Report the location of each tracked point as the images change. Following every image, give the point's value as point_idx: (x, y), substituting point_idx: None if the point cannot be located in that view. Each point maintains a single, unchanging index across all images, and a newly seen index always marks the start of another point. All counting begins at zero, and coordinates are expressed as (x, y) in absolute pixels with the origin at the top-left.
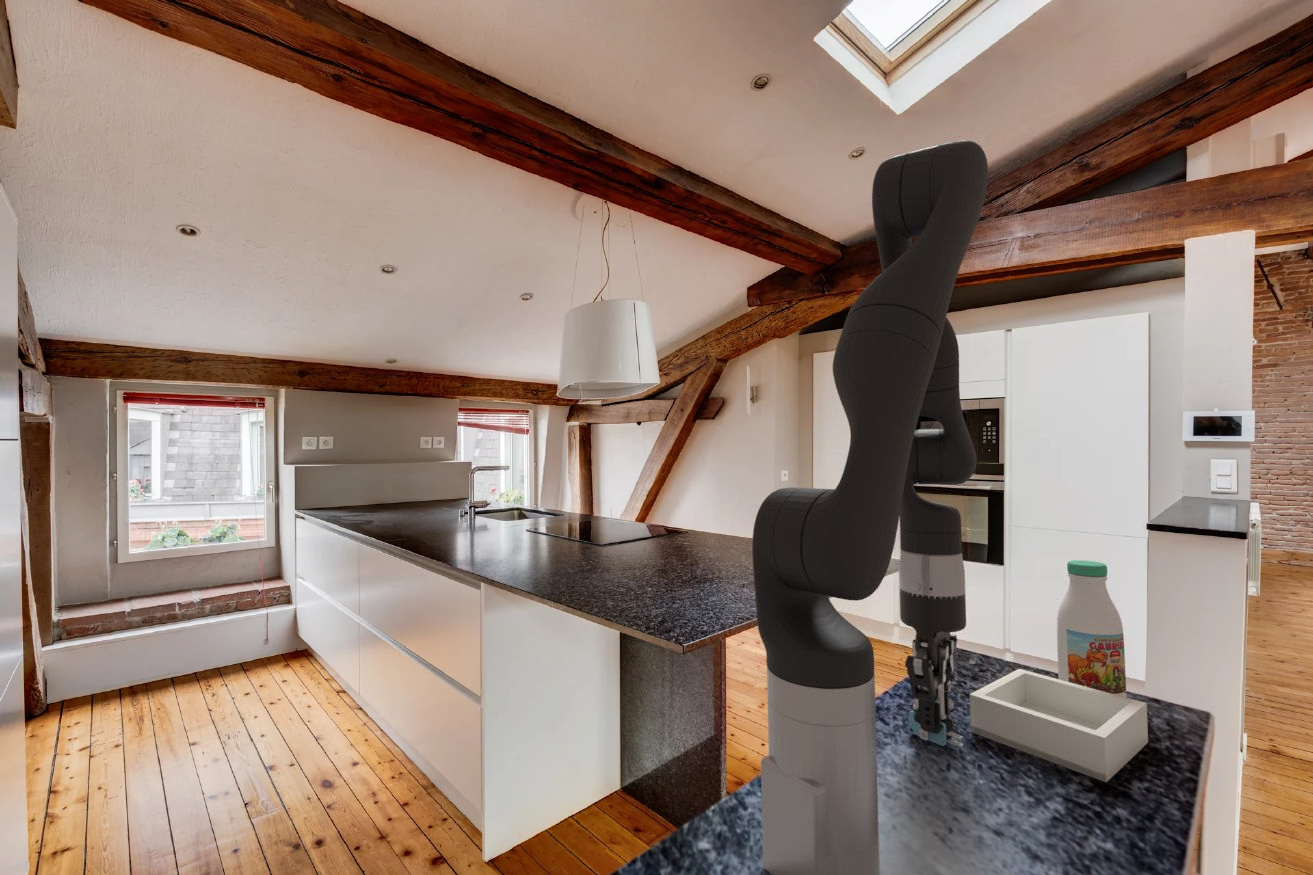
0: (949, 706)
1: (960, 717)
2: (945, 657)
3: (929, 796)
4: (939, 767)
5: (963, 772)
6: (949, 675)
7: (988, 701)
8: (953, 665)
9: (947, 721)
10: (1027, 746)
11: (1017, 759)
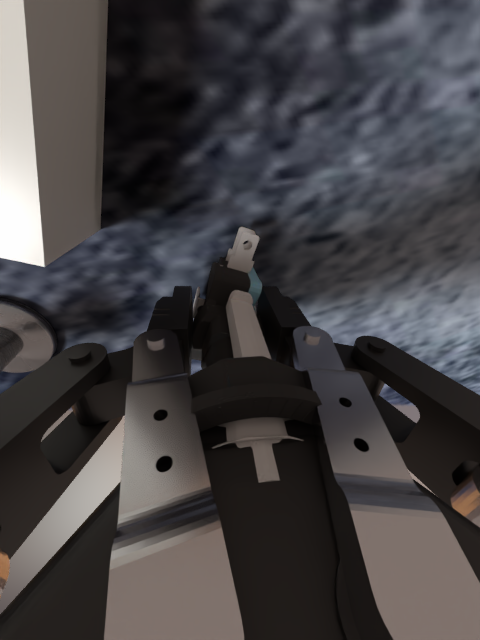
0: (5, 308)
1: (28, 270)
2: (443, 518)
3: (446, 243)
4: (333, 253)
5: (334, 204)
6: (246, 376)
7: (42, 177)
8: (33, 402)
9: (232, 283)
10: (99, 11)
11: (182, 63)
